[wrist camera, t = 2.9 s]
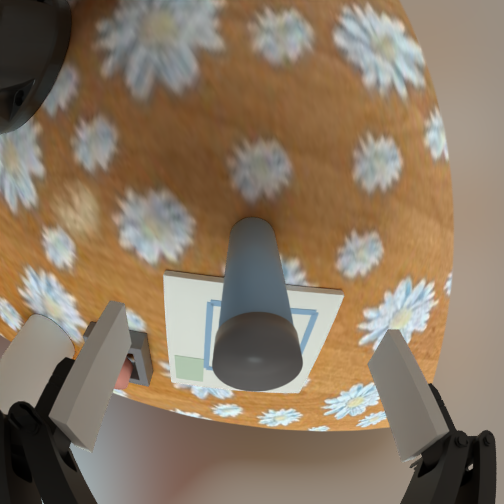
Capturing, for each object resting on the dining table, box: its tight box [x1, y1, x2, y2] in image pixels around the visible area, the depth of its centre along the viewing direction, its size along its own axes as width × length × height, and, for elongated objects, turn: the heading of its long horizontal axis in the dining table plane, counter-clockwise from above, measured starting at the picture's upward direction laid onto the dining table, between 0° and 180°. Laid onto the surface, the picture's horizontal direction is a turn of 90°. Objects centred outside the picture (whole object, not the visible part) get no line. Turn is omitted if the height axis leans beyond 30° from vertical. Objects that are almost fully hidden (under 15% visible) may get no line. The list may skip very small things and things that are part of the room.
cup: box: [0, 314, 75, 415], centre depth 21 cm, size 8×8×16 cm
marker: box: [212, 217, 303, 392], centre depth 16 cm, size 4×4×12 cm
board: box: [163, 270, 344, 393], centre depth 27 cm, size 16×16×1 cm
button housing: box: [83, 322, 153, 386], centre depth 27 cm, size 7×7×2 cm
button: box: [114, 357, 133, 389], centre depth 25 cm, size 4×4×2 cm
